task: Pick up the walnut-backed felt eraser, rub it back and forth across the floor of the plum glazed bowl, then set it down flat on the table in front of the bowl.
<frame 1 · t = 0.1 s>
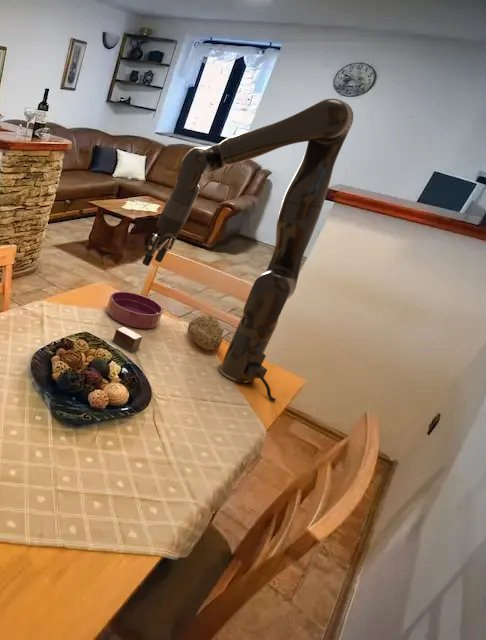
hand: (151, 262, 158), 22 cm above the table, tool pointing down, fingers open, 8 cm apart
bowl: (131, 317, 174), on the table
sponge: (203, 341, 167), on the table
eraser: (125, 345, 154), on the table
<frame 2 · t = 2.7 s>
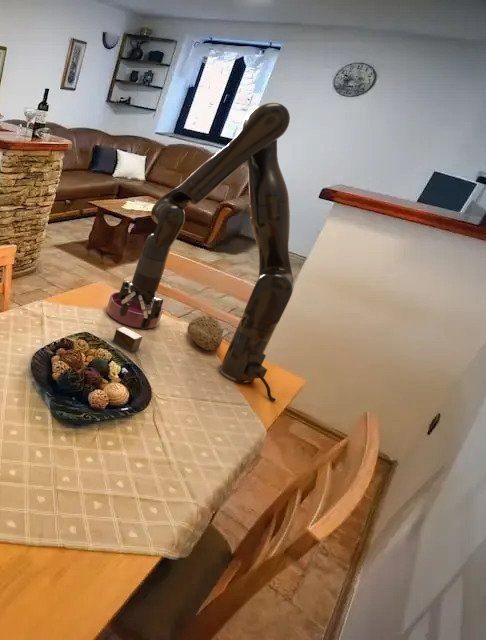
hand: (132, 321, 149), 8 cm above the table, tool pointing down, fingers open, 8 cm apart
nothing on the table moved.
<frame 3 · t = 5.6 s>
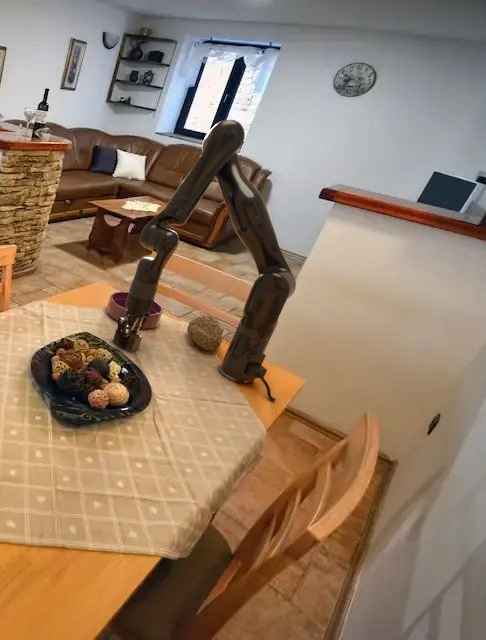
hand: (125, 344, 153), 0 cm above the table, tool pointing down, fingers closed on eraser, 4 cm apart
eraser: (125, 345, 154), on the table, touching gripper
everything else where it was.
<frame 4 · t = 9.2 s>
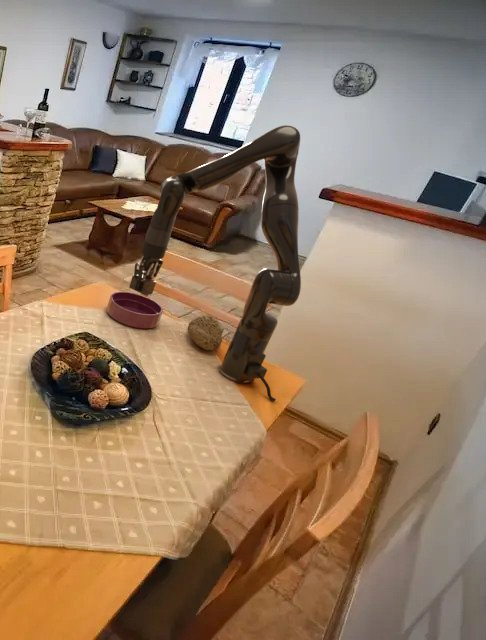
hand: (141, 289, 170), 10 cm above the table, tool pointing down, fingers closed on eraser, 4 cm apart
eraser: (140, 290, 170), point 10 cm above the table, touching gripper
everything else where it was.
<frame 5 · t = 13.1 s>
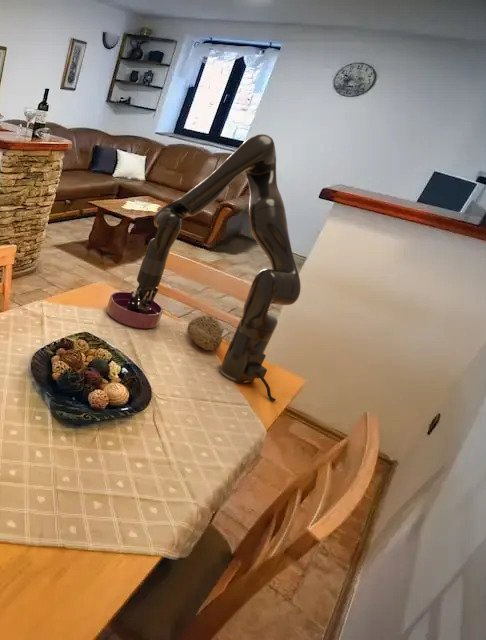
hand: (136, 316, 173), 1 cm above the table, tool pointing down, fingers closed on eraser, 4 cm apart
eraser: (136, 317, 173), point 1 cm above the table, touching gripper
everything else where it was.
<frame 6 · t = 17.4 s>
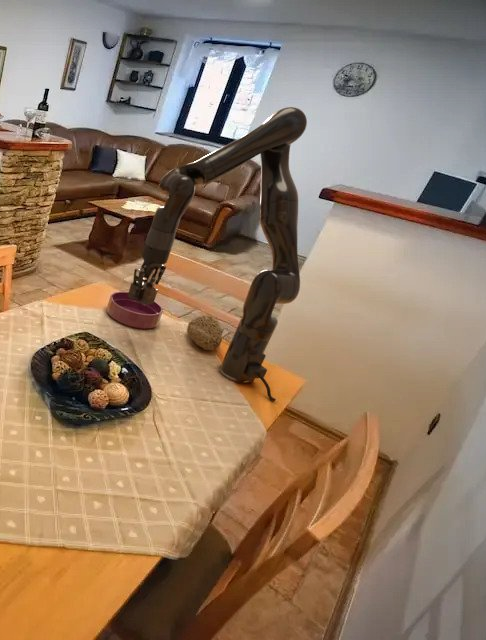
hand: (141, 298, 151), 14 cm above the table, tool pointing down, fingers closed on eraser, 4 cm apart
eraser: (140, 299, 151), point 14 cm above the table, touching gripper
everything else where it was.
when the fingers open (0 cm above the table, at t = 21.0 s): eraser stays where it is, on the table.
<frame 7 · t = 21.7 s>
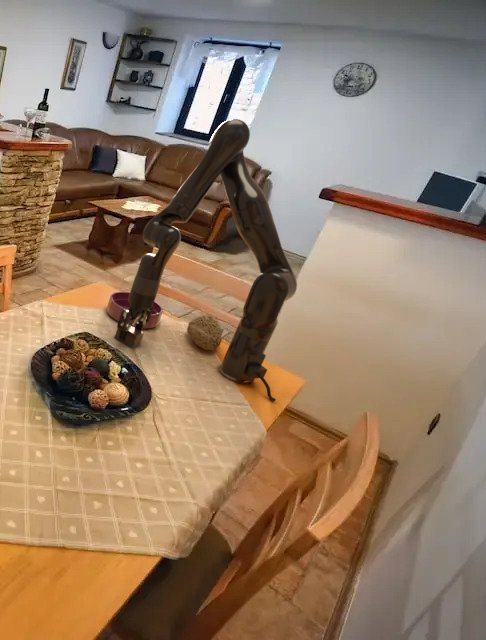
hand: (129, 337, 155), 2 cm above the table, tool pointing down, fingers open, 8 cm apart
eraser: (126, 341, 156), on the table
everything else where it was.
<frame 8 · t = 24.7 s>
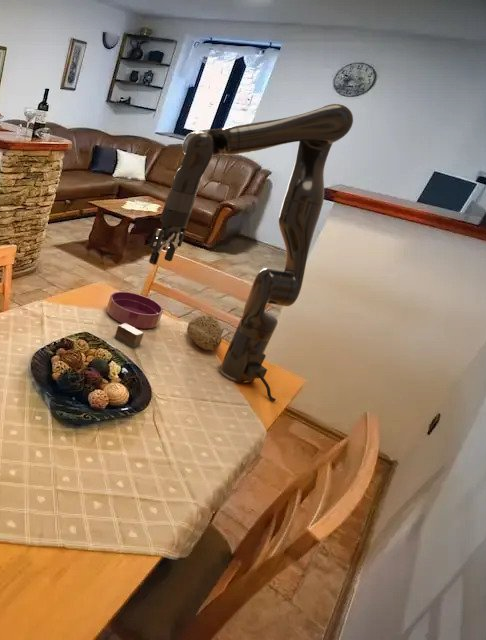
hand: (160, 261, 147), 26 cm above the table, tool pointing down, fingers open, 8 cm apart
nothing on the table moved.
at the end: eraser inside the target area on the table beside the bowl (0.4 cm from its centre), on the table; eraser tilted 0°; the gripper is holding nothing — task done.
